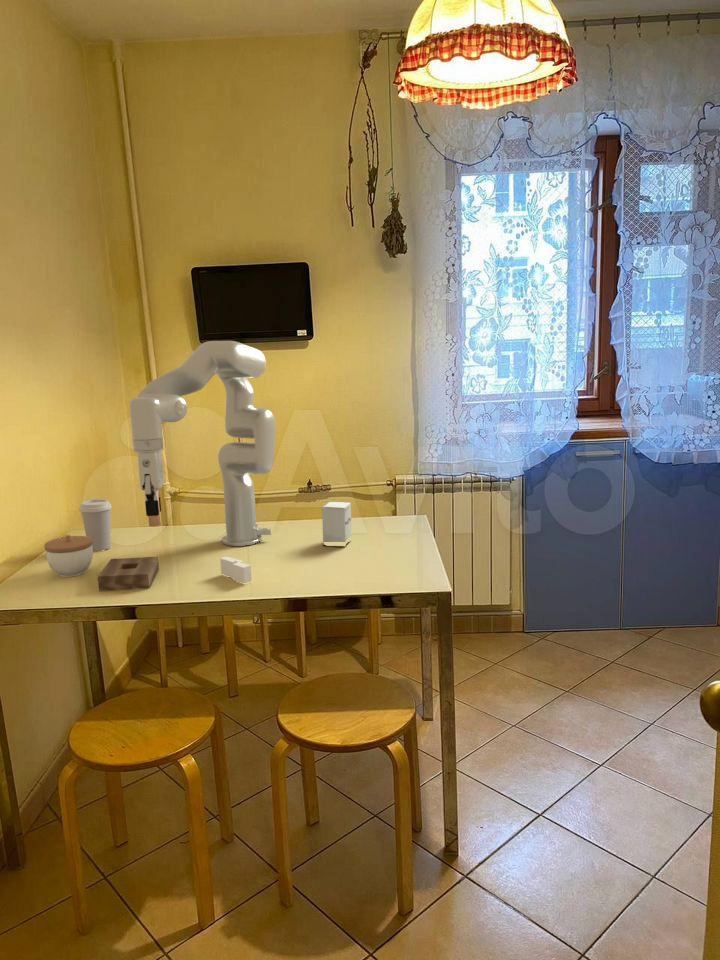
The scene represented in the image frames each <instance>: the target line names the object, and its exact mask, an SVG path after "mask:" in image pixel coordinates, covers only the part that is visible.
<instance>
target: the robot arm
mask: <svg viewBox="0 0 720 960" xmlns="http://www.w3.org/2000/svg"><path fill="white" fill-rule="evenodd" d="M266 369H267V359H266V357H265V355H264V353H263V352H262V351H261V350H260V349H259V348H256V347H253V346H250V345H247V344H244V343H241V342H238V341H235V340H210V341H209V340H208V341H205V342H202V343H201V344H200V345H199V346H197V348H196V349H195V350H194V351H193V352H192V353H191V354H190V355H189V356H188V358H186V360H185V361H184V362H183V363H182V364H181V365H180V366H179V367H177V368H175V369H173V370H172V369H171V371H168V372H166V373H164V374H162V375H160V376H159V377H156V378H155V379H152V381H149V383H148V384H147V385H146V386H145V387H144V388H143V389H142V390H141V391H139V393H138V395H137V396H136V397H135V398H134V397H133V398H132V399H130V401H129V413H130V423H131V424H130V425H131V435H132V446H133V447H132V448H133V452H134V453H137V459H138V460H137V461H138V478H139V485H140V489H141V490H142V491H144V500H145V501H144V502H145V503H144V504H145V514H146V516H147V517H148V516H158V515H159V508H160V513H161V512H162V503H161V494H160V490H161V488H162V487H163V486H164V484H165V481H166V480H165V473H164V463H163V457H162V452H163V451H164V437H163V427H162V426H163V424H162V423H176V422H179V421H181V420H183V419H184V418H185V416H186V415H187V413H188V404H187V402H186V400H185V398H184V397H183V396H187V395H190V394H194V393H197V392H199V391H201V390H202V389H204V387H205V386H206V385H207V384H208V383H209V382H210V381H211V379H212V378H214V376H215V375H217V376H218V377H219V379H220V380H221V382H222V384H223V387H224V390H225V395H226V396H225V399H226V400H225V417H224V418H225V420H224V421H225V422H224V423H225V425H224V428H225V432H226V434H227V435H228V436H229V437H231V438H235V439H237V438H238V439H250V440H251V439H254V442H240V441H239V442H238V441H237V442H236V441H235V442H228V443H226V444H223V445H222V446H221V447H220V449H219V451H218V455H217V459H218V460H217V461H218V465H219V468H220V472H221V477H222V485H223V497H224V498H223V499H224V513H225V514H224V515H225V516H224V517H225V530H226V534H225V535H224V536H222V538H221V543H222V544H223V545H225V546H229V547H245V546H246V545H247V546H251V545H256V544H258V543H260V542H261V541H262V540H263V536H271V535H272V528H268V527H263V528H262V527H261V528H260V527H259V524H257V515H256V512H257V511H256V495H255V494H256V492H255V484H254V481H253V479H252V477H251V476H250V475H258V476H259V475H262V476H263V475H267V474H268V473H270V472H271V471H272V469H273V467H274V462H275V449H276V436H277V435H276V434H277V433H276V432H277V431H276V430H277V429H276V427H277V423H276V419H275V416H274V414H273V413H272V411H271V410H269V409H268V408H263V407H255V393H254V388H253V385H252V384H251V382H250V381H249V379H256V378H259V377H262V375H263V374H264V373H265V371H266ZM151 487H154V489H151ZM156 488H157V489H158V496H159V506H158V500H157V495H156ZM153 492H154V493H153ZM259 541H260V542H259ZM257 542H258V543H257ZM255 543H256V544H255Z"/></svg>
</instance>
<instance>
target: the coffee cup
mask: <svg viewBox="0 0 720 960" xmlns="http://www.w3.org/2000/svg"><path fill="white" fill-rule="evenodd" d="M112 508H113V506H112V504H111V502H110V501H109V500H108V499H106V498H105V499H103V498H95V499H88V500H84V501H82V502H81V504H80V507H79V510H78V511H79V512H80V514H81V517H82V523H83V528H84V532H85V533H84V534H85V536H86V537H90V538H91V539H92V541H93V544H92V546H93V551H100V552H103V551H102V550H105V551H107V550H106V549H108V550H110V549H111V548H110V547H111V546H112V544H111V543H112V542H111V541H112V540H111V539H112V538H111V533H112V531H111V528H112V527H111V511H112V510H111V509H112ZM109 548H110V549H109Z"/></svg>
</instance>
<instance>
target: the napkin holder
mask: <svg viewBox="0 0 720 960" xmlns="http://www.w3.org/2000/svg"><path fill="white" fill-rule="evenodd" d="M219 561H220V563H219V564H220V575H221V574H224V575H226V576H230V577H232V578H234V579H233V580H235V581H238V582H242V583H247V582H250V581H252V566H251V565H250V564H248V563H244V561H243V560H240V559H239V558H238V559H237V558H233V557H230V556H223V557H221V558H220V559H219Z"/></svg>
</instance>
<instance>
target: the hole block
mask: <svg viewBox="0 0 720 960" xmlns="http://www.w3.org/2000/svg"><path fill="white" fill-rule="evenodd" d="M159 560H160V559H159V556H147V557H146V556H144V557H127V558H126V557H123V558H119V557H118V558H110V560H108V562H107V564H106V565H105V566H104V567H103V568H102V570H101V571H100V572H99V574H98V575H97V585H98V588H97V589H98V592H106V591H107V592H108V591H124V590H125V591H127V590H129V591H130V590H145V589H147V590H148V589H150V588H151V586H152V584H153V582H154V581H155V579H156V577H157V575H158V574H159V572H160V565H159V563H160V562H159Z"/></svg>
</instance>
